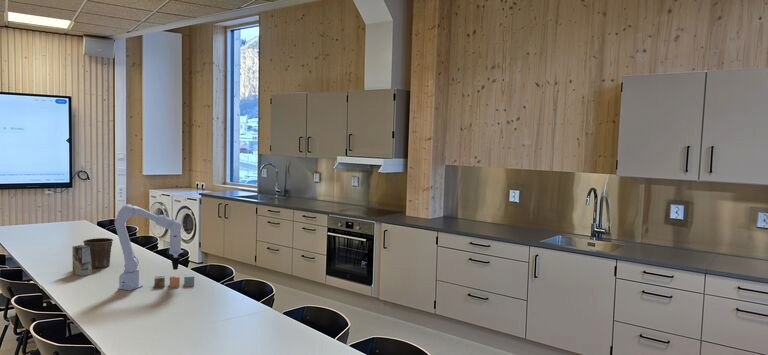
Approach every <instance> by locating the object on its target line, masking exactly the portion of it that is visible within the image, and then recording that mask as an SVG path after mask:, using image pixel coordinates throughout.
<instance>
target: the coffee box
mask: <svg viewBox="0 0 768 355" xmlns="http://www.w3.org/2000/svg"><path fill="white" fill-rule="evenodd" d="M71 248H72V275H77V276H80V277H84V276H89V275H92V273H93V271H92V270H93V268H92V247H91V246H85V245H84V244H80V245H73V246H72V247H71Z"/></svg>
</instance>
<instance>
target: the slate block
mask: <svg viewBox="0 0 768 355" xmlns="http://www.w3.org/2000/svg"><path fill="white" fill-rule="evenodd" d="M183 278H184V280H183V281H184V282H183V283H184V287H187V286H188V287H190V286H193V287H194V286H195V274H184V276H183Z"/></svg>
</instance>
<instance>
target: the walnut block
mask: <svg viewBox="0 0 768 355" xmlns="http://www.w3.org/2000/svg"><path fill="white" fill-rule="evenodd" d="M165 278H166V277H165V275H159V276H157V275H156V276H154V286H153V288H154V289H155V288H157V289H158V288H165V287H166V284H165V282H166V281H165V280H166V279H165Z"/></svg>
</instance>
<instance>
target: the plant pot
mask: <svg viewBox="0 0 768 355" xmlns="http://www.w3.org/2000/svg"><path fill="white" fill-rule="evenodd" d="M113 242H114V239H113V238H110V237H109V238H108V237H100V238H99V237H97V238H90V239H84V240H83V241H82V243H83V245H85V246H91V247H92V269H96V268H99V269H103V268H107V267H110V264H111V255H112V254H111V252H112V246H113V245H112V244H113Z"/></svg>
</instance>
